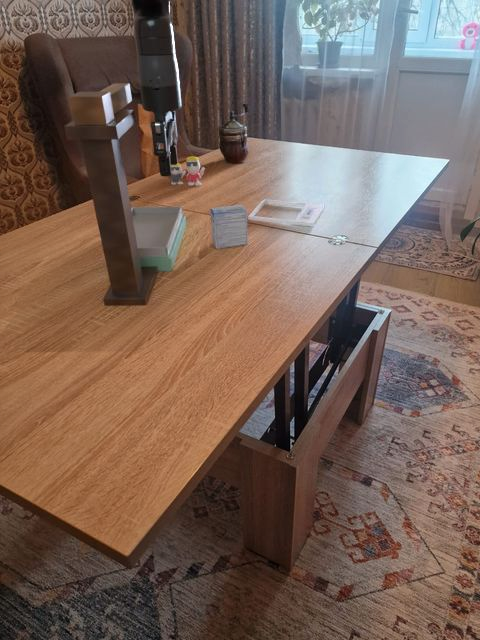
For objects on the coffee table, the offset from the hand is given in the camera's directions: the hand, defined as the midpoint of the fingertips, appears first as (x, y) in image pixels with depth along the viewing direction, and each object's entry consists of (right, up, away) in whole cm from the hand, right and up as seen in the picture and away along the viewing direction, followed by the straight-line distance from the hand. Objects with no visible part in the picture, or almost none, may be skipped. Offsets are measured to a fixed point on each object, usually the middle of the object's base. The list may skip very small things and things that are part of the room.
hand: (169, 170), depth 100 cm
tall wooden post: (-7, -25, -2) cm, 26 cm away
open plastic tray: (-7, -13, +15) cm, 21 cm away
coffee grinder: (+10, +34, +80) cm, 88 cm away
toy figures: (-5, +16, +56) cm, 58 cm away
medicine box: (+12, -12, +16) cm, 23 cm away
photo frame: (+26, 0, +32) cm, 42 cm away
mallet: (-7, +4, -17) cm, 19 cm away
